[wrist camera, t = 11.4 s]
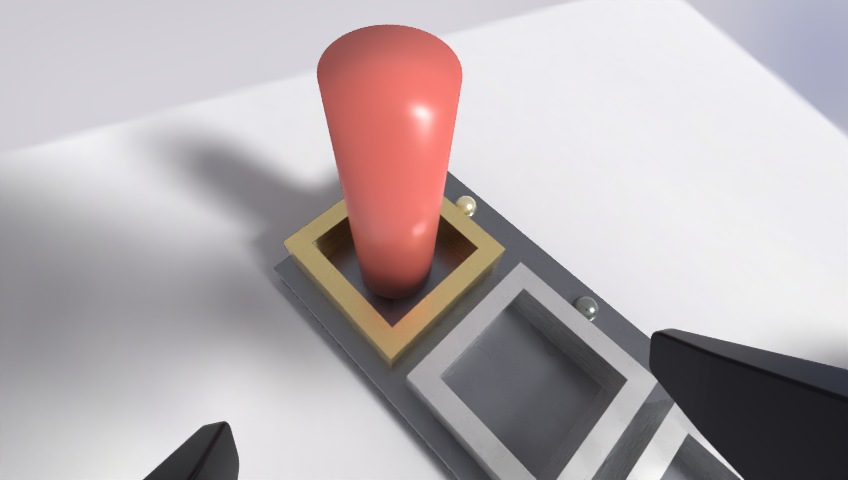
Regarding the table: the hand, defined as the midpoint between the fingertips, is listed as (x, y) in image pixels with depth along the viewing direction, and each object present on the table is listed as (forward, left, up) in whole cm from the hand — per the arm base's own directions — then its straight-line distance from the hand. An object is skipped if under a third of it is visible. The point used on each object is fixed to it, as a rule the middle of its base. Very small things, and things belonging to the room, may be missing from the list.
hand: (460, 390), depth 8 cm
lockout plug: (+7, -5, -12) cm, 15 cm away
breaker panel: (-2, -6, -13) cm, 15 cm away
